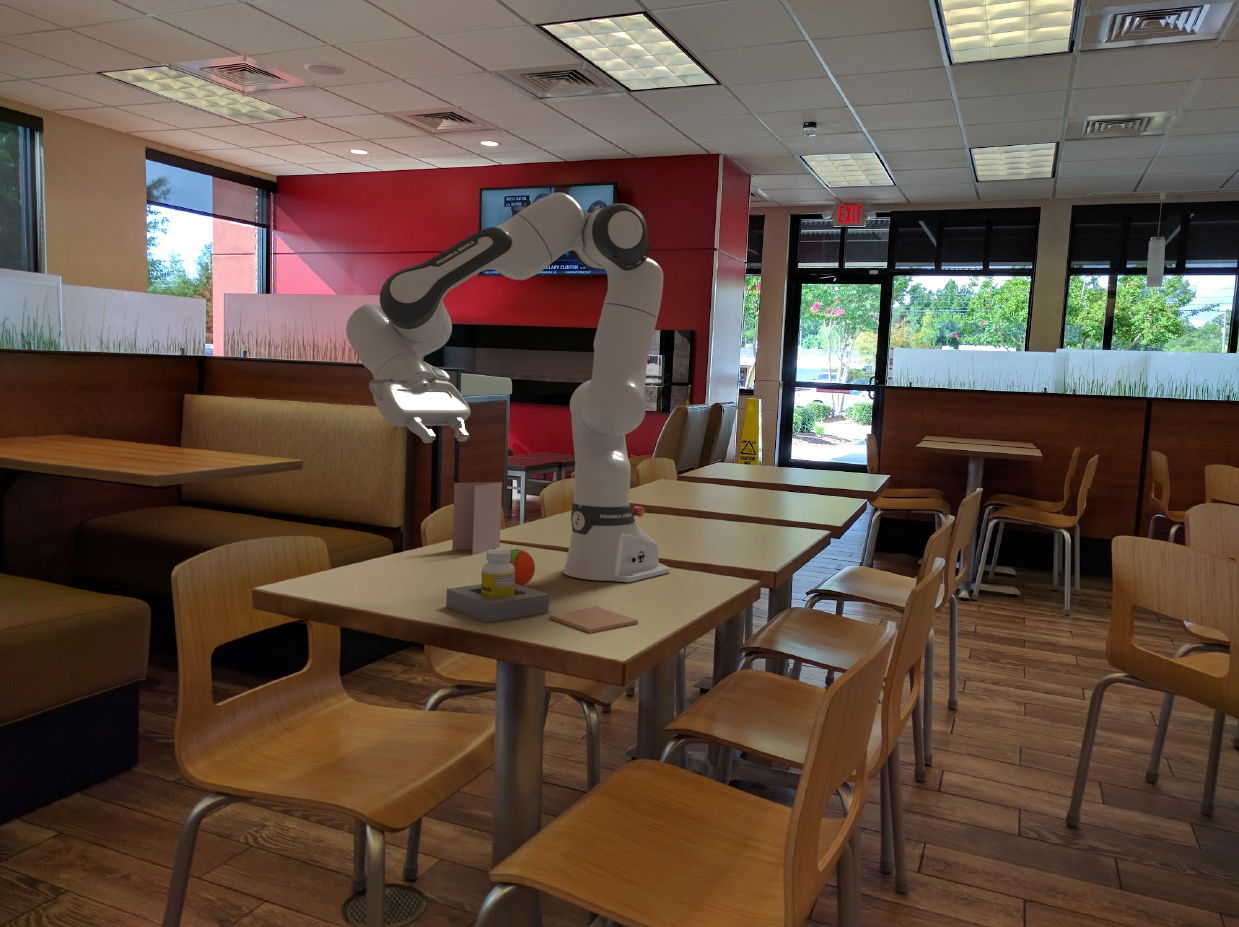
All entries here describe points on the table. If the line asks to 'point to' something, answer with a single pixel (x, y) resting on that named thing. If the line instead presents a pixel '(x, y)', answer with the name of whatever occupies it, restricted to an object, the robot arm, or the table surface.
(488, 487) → the greeting card
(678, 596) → the table surface
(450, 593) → the pocket holder
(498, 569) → the supplement bottle
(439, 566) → the table surface
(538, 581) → the table surface
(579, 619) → the coaster
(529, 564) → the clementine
